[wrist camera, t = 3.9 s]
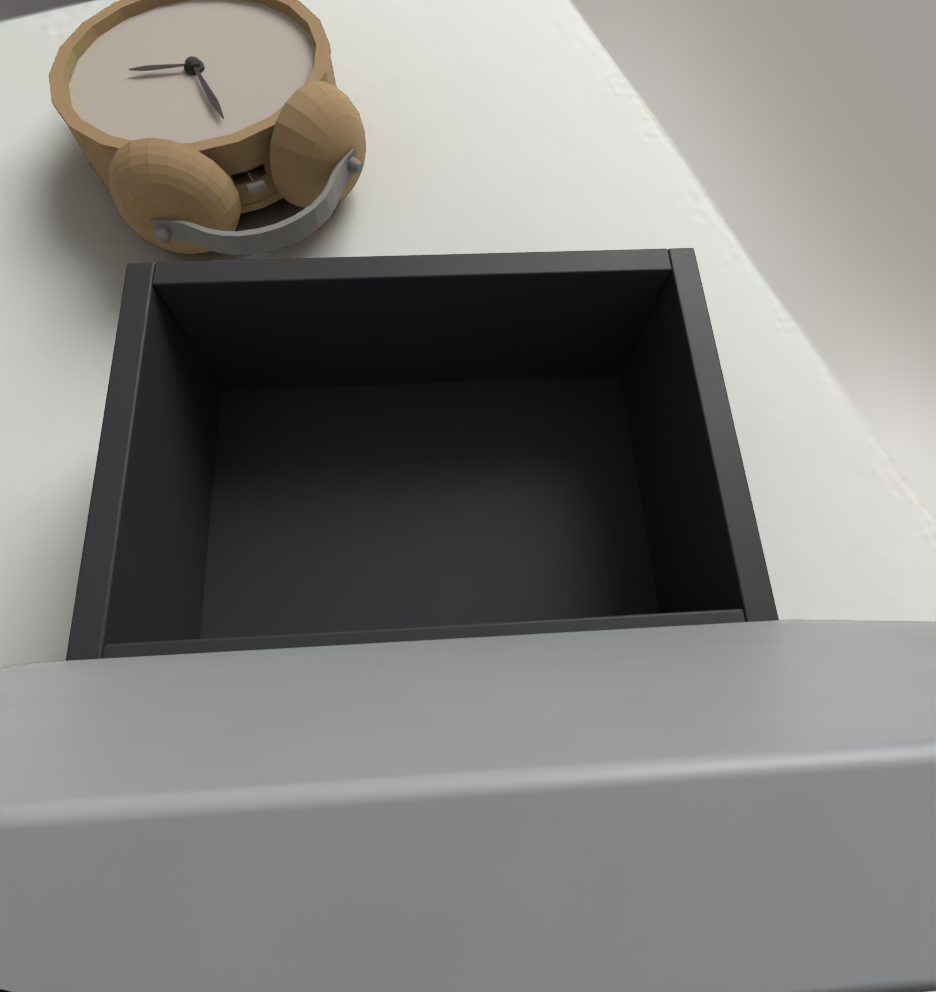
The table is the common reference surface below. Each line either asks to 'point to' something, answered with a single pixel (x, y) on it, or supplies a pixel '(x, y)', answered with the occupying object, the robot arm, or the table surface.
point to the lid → (478, 815)
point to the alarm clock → (210, 119)
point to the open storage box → (413, 455)
